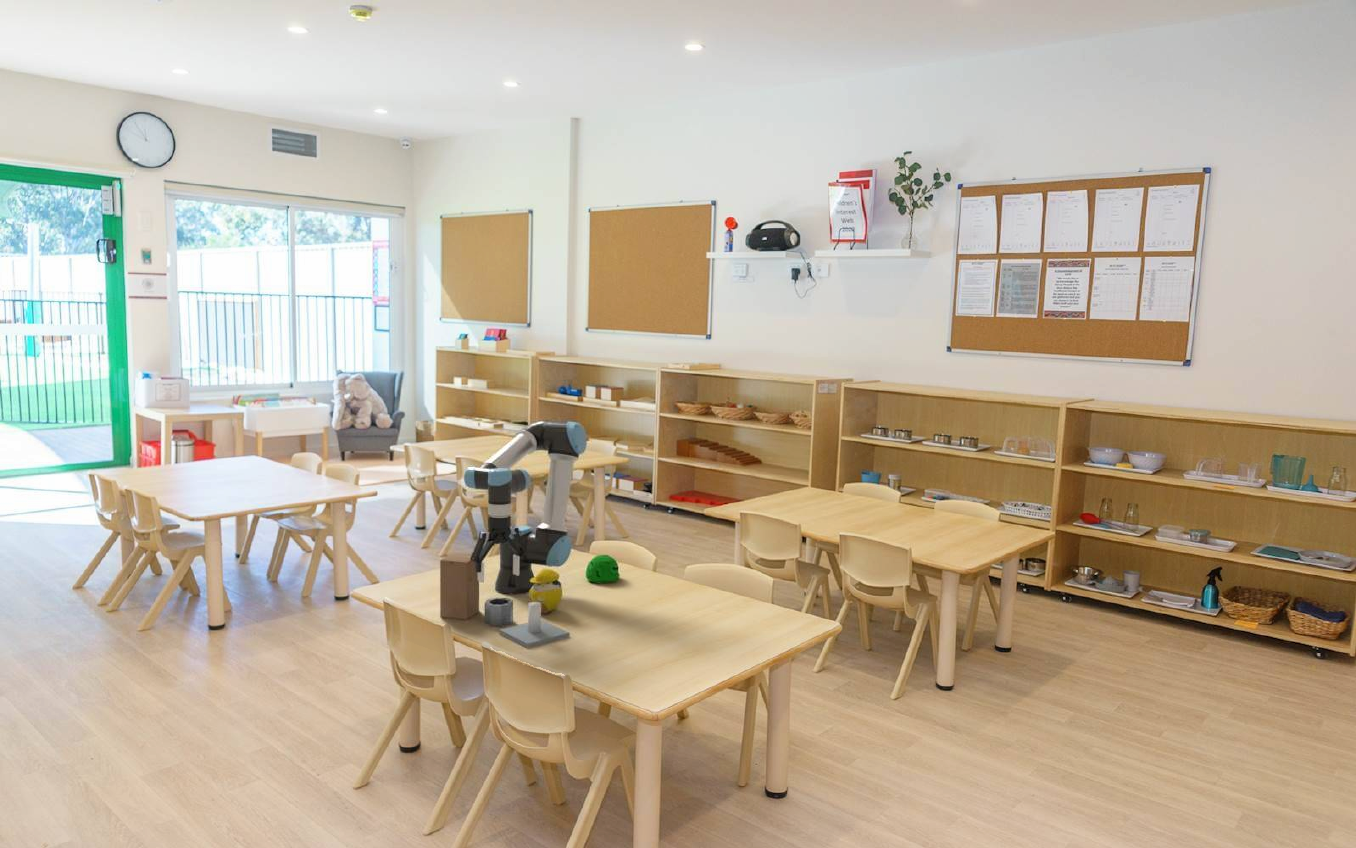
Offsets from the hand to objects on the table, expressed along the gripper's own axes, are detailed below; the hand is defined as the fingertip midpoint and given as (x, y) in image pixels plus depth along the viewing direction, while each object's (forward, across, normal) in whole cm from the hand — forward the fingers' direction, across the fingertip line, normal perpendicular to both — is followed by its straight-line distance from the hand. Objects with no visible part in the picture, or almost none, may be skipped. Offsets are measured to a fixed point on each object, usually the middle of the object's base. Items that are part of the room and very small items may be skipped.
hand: (498, 578), depth 303 cm
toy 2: (+15, -58, -17) cm, 63 cm away
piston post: (+15, -2, +18) cm, 24 cm away
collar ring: (+15, 0, 0) cm, 15 cm away
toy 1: (+15, -19, 0) cm, 25 cm away
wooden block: (+15, +6, -15) cm, 22 cm away
